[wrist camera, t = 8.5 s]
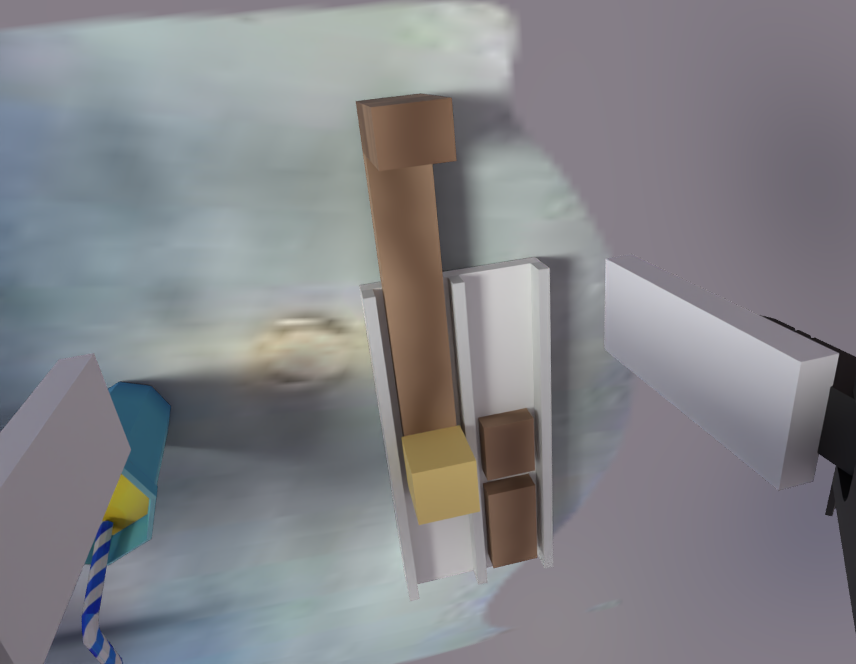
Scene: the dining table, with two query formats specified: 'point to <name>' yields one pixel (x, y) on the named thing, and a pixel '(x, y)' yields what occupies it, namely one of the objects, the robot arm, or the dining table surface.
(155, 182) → the dining table surface
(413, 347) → the strip
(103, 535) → the cup
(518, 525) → the broken strip
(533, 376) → the lane board
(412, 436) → the cube
